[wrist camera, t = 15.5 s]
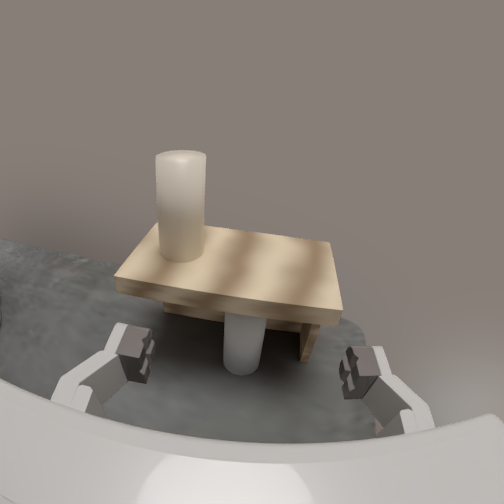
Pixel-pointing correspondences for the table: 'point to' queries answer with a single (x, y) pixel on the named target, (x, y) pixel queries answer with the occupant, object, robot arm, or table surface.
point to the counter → (242, 281)
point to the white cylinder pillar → (242, 343)
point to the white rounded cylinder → (181, 204)
